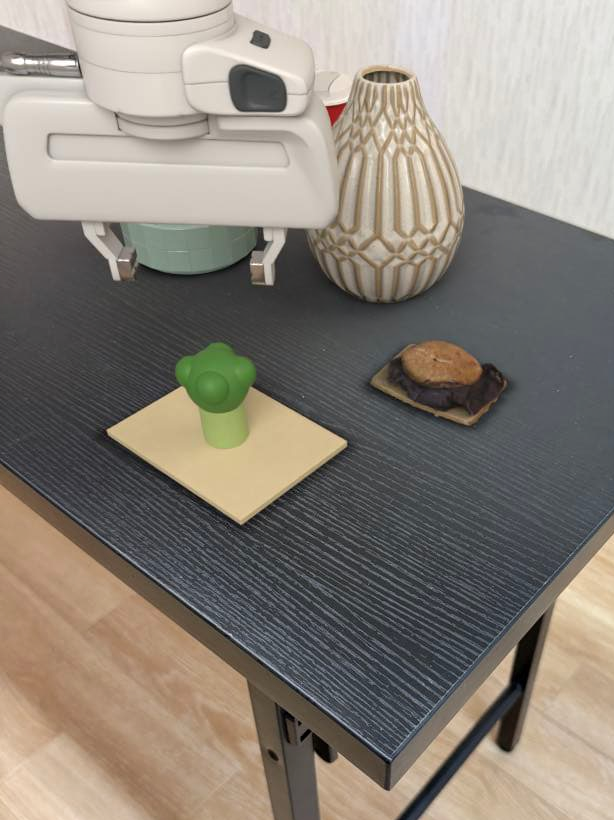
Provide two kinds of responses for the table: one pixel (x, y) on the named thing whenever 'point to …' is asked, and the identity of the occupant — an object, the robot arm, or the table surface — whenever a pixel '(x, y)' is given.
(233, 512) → the mat
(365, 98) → the vase
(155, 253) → the bowl
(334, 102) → the paper cup
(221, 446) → the broccoli
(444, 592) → the table surface
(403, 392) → the brown round-topped food
